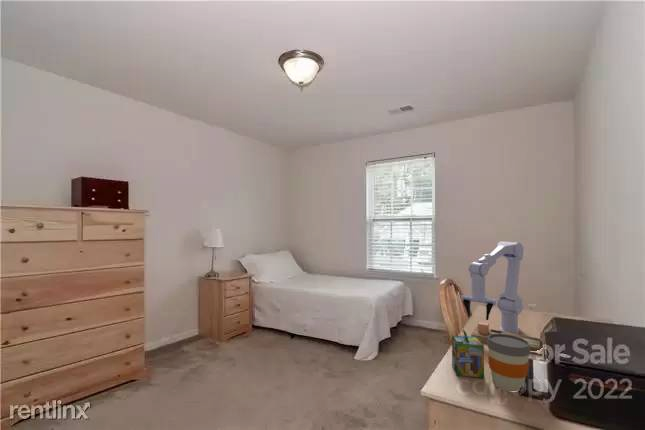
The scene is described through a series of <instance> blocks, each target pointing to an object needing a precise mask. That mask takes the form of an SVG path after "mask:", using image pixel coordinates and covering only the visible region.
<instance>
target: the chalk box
mask: <svg viewBox="0 0 645 430" xmlns="http://www.w3.org/2000/svg"><path fill="white" fill-rule="evenodd" d="M462 332H463V334H462V335H458V334H457V335H455V334H452V335H451V355H452V356H451V365H452V368H453V370H454V372H455V375H456V376H457V377H468V378H480V379H485V345H484V344H483V342H480V340H479V339H478V338H477V337H471V335H470V336H469V335H468V334H467V332H466V330H465V329H464V328H462Z"/></svg>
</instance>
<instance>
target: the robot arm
mask: <svg viewBox="0 0 645 430" xmlns="http://www.w3.org/2000/svg"><path fill="white" fill-rule="evenodd" d="M524 249H525V248H524V246H523V244H522V243H521V242H520V241H519V242H513V241H504V240H500V241H499V242H498V243H497V244H496V248H494V250H492V252H490V253H485V254H484V255H483V256H482V257H480V258H479V259H478V260H477V261H473V262H471V263H470V264H469V267H468V272H469V275H470V278H471V285H470V286H471V288H470V289H471V292H470V293H471V295H462V294H461V295H460V300H461V301H462V304H463V305H464V307H465V311H466V314H467V317H468V318H469V317H471V302H475V303H482V304H485V308H486V310H485V311H486V313H485V314H486V315H485V320H486V321H488V320H489V318H490V314H491V310H492V308H493V306H497V308H498V309H499V311H500V315H501V321H500V322H501V323H500V327H499V331H503V332H508V333H513V334H519V333H520V327H519V315H520V314H521V313H522V311H523V307H524V306H523V299H522V297H520V295H518V285H519V279H520V277H519V275H520V268H521V260H523V257H524ZM501 257H504V258H505V259H506V260H507V261H508V262H507V270H506V277H505V285H504V286H505V287H504V291H503V292H502V293H499V297H498V300H496V299H492V298H488V297H486V276H487V275H488V274H489V271H490V269H491V268H492V267H493V266H495V264H496V263H497V260H498V259H499V258H501Z"/></svg>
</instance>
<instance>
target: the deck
mask: <svg viewBox="0 0 645 430" xmlns="http://www.w3.org/2000/svg"><path fill="white" fill-rule="evenodd" d="M491 334H507V335H513V336H516V337H519V338H522V339H524V340H526V341H527V342H528V343H529V345H530V351H537V350H540V349H541V348H542V345H544V340H543V339H544V332H542V331H540V337H534V336H528V335H522V334H519V333H518V334H514V333H509V332H504V331H500V330H497V329H493V328H492V329H491V328H489V332H488V334H484V333H479V332H478V325H477V326H476V327H474V329H473V331H472V332H471V334H470V337H477V338H478V339H479V340H480V342H481V343H485V344H487V341H488V336H489V335H491Z"/></svg>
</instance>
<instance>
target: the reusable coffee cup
mask: <svg viewBox="0 0 645 430" xmlns="http://www.w3.org/2000/svg"><path fill="white" fill-rule="evenodd" d="M486 346H487V348H488V352H487V359H488V367H489V369H490V371H491V381H492V384H493V385H494V386H495V387H496V388H497V389H500V390H503V391H505V392H508V391H517V390H519V389H520V388H521V387H522V386H523V385H524V386H525V382H526V378H527V376H528V373H529V367H530V360H529V358H530V355H531V353H530V345H529V343H528V342H527V341H526V340H524V339H522V338H519V337H516V336H513V335H507V334H491V335H489V336H488V341H487V343H486Z"/></svg>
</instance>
